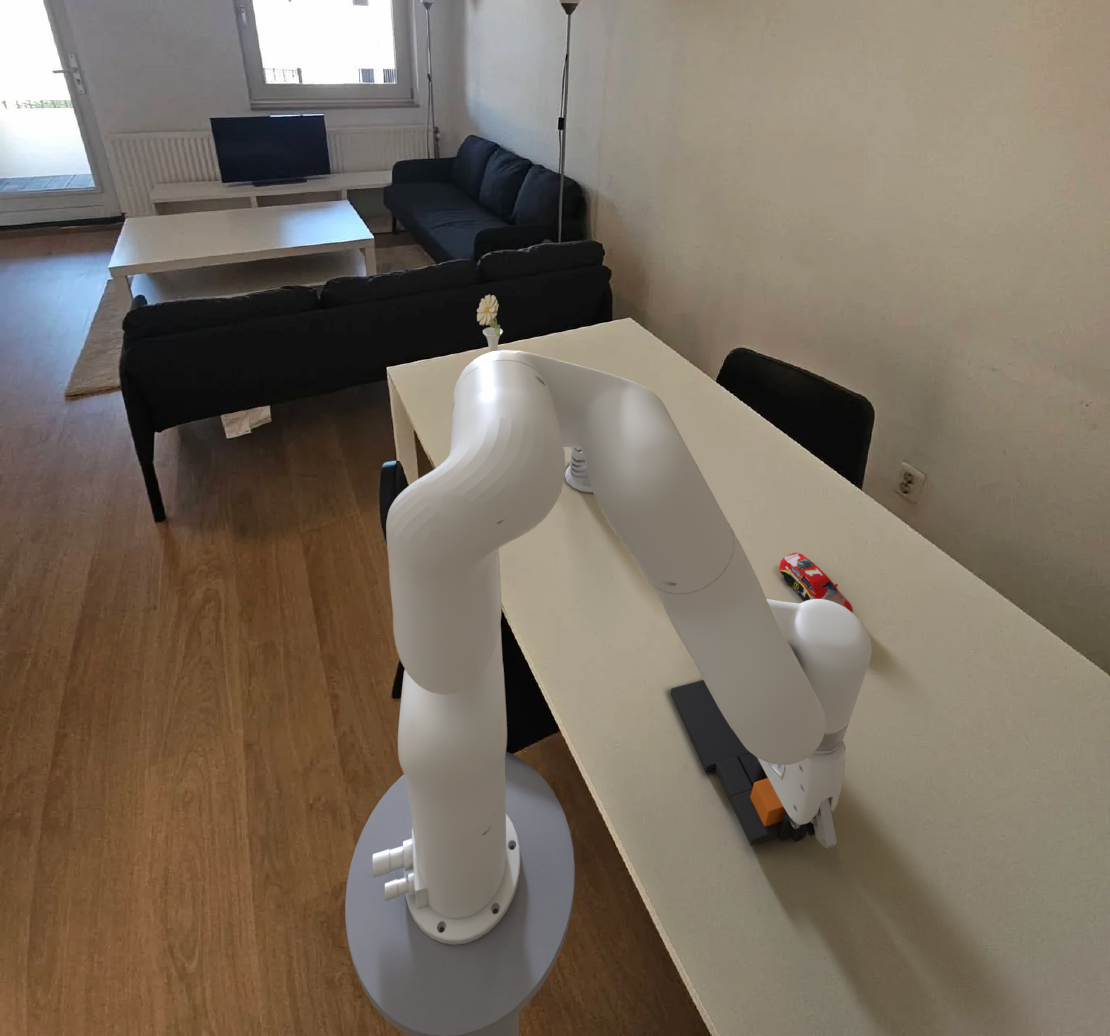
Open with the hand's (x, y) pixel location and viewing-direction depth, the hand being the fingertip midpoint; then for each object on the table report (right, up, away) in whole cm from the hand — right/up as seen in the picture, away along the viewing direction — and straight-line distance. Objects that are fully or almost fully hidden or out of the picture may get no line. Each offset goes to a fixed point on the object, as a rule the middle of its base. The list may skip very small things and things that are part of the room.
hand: (778, 808), depth 70 cm
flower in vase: (-42, +37, +88) cm, 104 cm away
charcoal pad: (-3, +3, +9) cm, 10 cm away
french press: (-18, +22, +54) cm, 61 cm away
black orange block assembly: (0, 0, +2) cm, 2 cm away
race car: (+16, +10, +29) cm, 35 cm away
